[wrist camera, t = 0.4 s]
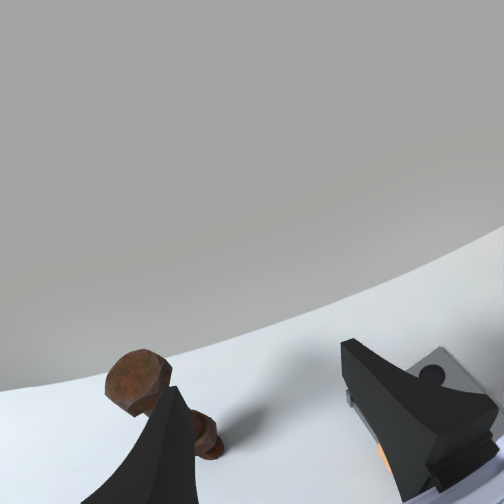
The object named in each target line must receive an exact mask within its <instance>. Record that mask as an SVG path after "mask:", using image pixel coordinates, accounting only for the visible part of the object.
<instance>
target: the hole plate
mask: <svg viewBox="0 0 504 504" xmlns="http://www.w3.org/2000/svg"><path fill="white" fill-rule="evenodd" d="M406 372H408V373H410V374H412V375H414V376H416V377H418V378H421V379H423V380H425V381H428V382H431V383H434V384H437V385H440V386H443V387H447V388H451V389H455V390H460V391H464V392H471V393H480V394H485V393H484V392H483V391H482V390H481V389H480V388H479V387H478V385H477V384H476V383H475V382H474V381H473V380H472V379H471V378H470V377H469V376H468V375H467V374H466V373H465V372H464V371H463V370H462V369H461V368H460V367H459V366H458V365H457V364H456V363H455V361H454V360H453V359H452V358H451V357H450V356H449V355H448V354H447V353H446V352H445V351H444V350H443V349H442V348H441V347H440V346H439V347H438V348H437V349H436V350H434V351H433V352H432V353H430V354H429V355H427V356H426V357H425V358H423V359H422V360H421V361H419V362H418V363H416V364H415V365H414V366H412V367H411V368H409V369H408V370H406ZM490 431H491V432H492V434H493V437H492V438H491V439H492V440H493V441H494V443H495V442H496V441H497V440H498V439H499V438H500V437H501V436H502V435H503V434H504V414H503V413H502V412H501V410H500V409H499V412H498V415H497V418H496V420H495V421H494V423H493V425H492V427H491V428H490ZM503 501H504V499H503V500H502V501H500V502H499V503H498V504H501V503H502V502H503Z"/></svg>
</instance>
